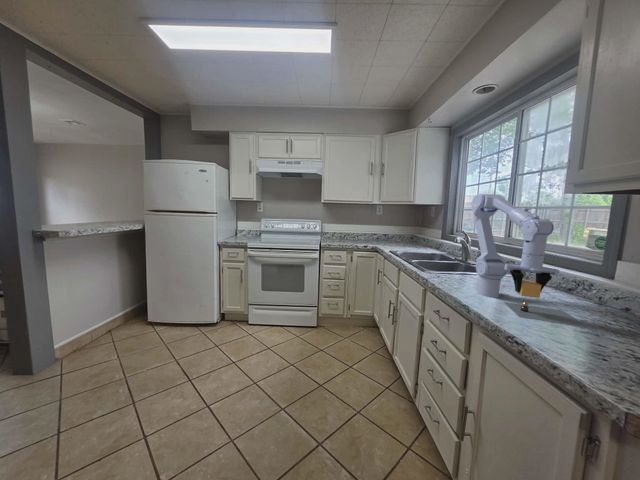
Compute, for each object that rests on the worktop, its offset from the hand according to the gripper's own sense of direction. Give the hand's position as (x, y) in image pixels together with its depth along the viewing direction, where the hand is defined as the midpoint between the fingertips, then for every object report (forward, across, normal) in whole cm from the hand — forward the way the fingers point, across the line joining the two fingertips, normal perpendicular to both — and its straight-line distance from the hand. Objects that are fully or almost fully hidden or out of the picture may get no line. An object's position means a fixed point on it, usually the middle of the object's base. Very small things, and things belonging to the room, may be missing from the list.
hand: (527, 292), depth 85 cm
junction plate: (+8, +5, 0) cm, 9 cm away
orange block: (+1, 0, 0) cm, 1 cm away
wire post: (+7, 0, 0) cm, 7 cm away
